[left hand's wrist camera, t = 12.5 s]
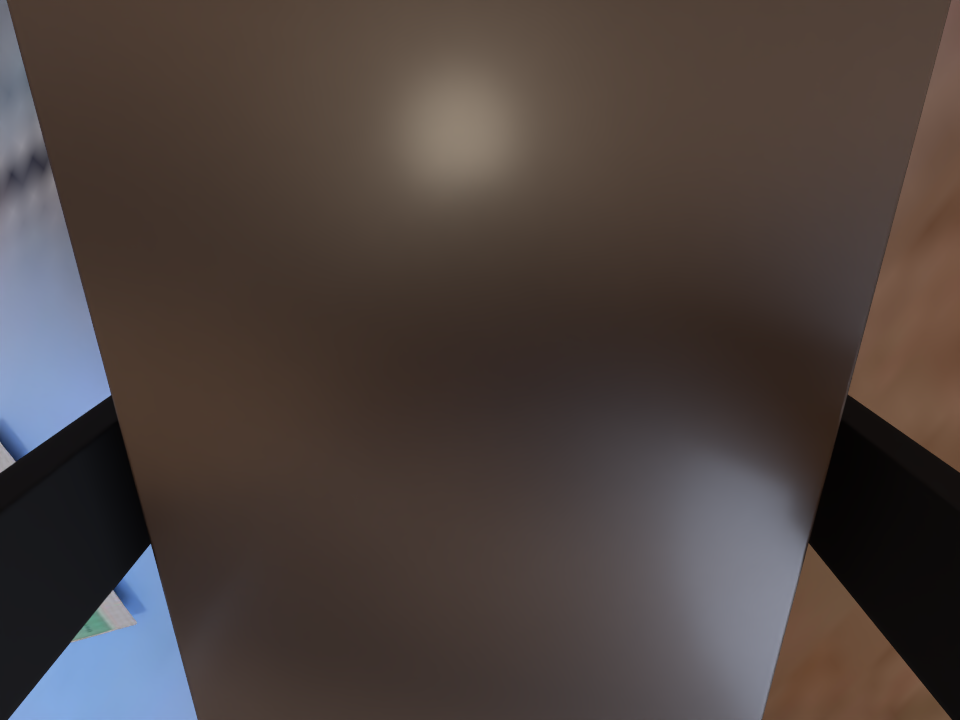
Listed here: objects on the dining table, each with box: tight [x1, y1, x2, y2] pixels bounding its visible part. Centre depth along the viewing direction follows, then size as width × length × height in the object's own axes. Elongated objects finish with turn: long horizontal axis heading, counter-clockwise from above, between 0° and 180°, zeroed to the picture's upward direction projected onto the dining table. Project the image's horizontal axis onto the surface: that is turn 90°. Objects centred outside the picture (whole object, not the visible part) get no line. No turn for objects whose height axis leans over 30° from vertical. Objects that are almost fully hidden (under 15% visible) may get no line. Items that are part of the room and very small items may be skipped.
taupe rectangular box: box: [7, 0, 951, 720], centre depth 12 cm, size 18×10×9 cm, turn 0°
